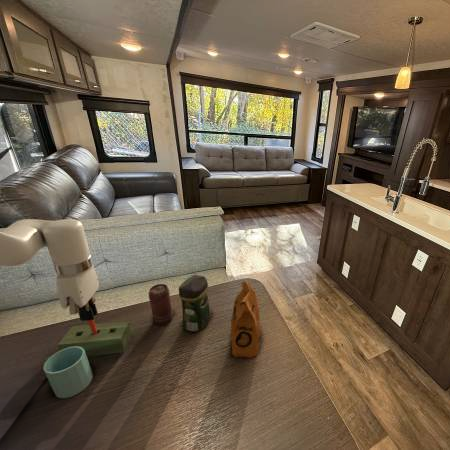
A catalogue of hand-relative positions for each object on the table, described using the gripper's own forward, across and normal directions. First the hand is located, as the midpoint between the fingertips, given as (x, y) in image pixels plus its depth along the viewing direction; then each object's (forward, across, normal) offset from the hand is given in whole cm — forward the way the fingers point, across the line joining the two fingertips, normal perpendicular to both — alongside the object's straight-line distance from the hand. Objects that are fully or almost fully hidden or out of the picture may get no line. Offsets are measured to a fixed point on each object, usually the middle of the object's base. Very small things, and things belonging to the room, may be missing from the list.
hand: (89, 317), depth 73 cm
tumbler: (+12, +12, 0) cm, 17 cm away
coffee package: (+12, +6, +46) cm, 47 cm away
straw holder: (+12, 0, 0) cm, 12 cm away
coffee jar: (+12, -6, +28) cm, 31 cm away
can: (+12, -9, +16) cm, 22 cm away
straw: (+9, 0, 0) cm, 9 cm away
